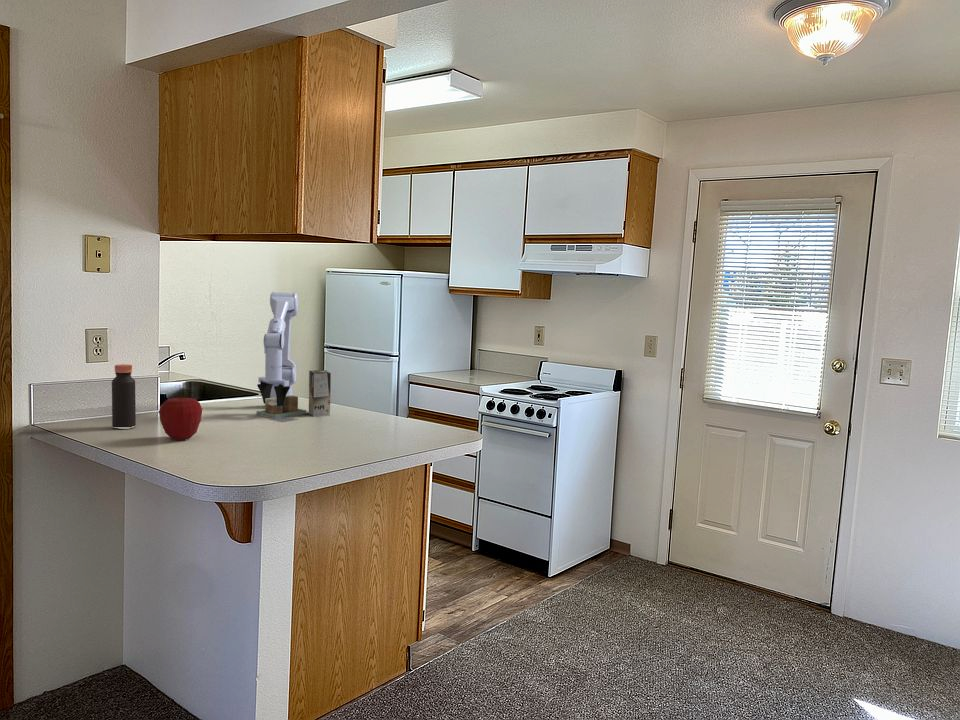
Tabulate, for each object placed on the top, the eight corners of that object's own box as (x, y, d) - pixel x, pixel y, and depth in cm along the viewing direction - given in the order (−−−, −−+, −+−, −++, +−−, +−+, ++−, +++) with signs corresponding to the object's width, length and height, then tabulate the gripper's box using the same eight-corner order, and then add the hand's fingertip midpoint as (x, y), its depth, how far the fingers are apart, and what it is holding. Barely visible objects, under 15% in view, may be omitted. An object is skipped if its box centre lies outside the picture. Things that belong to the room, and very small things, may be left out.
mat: (269, 420, 254) (269, 419, 254) (285, 418, 259) (285, 416, 259) (282, 423, 250) (282, 422, 250) (298, 420, 255) (298, 419, 255)
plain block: (281, 412, 267) (282, 396, 267) (290, 411, 271) (290, 395, 270) (289, 414, 265) (289, 397, 264) (297, 412, 268) (297, 396, 268)
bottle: (110, 429, 229) (109, 366, 227) (114, 425, 236) (113, 364, 234) (134, 429, 231) (133, 366, 229) (137, 425, 238) (136, 364, 236)
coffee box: (330, 416, 265) (331, 372, 263) (313, 417, 262) (313, 373, 261) (325, 412, 273) (325, 369, 272) (307, 413, 271) (308, 370, 269)
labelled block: (265, 415, 261) (265, 398, 261) (274, 413, 265) (274, 397, 264) (272, 416, 259) (272, 399, 258) (281, 415, 262) (281, 398, 262)
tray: (256, 415, 262) (256, 411, 262) (288, 411, 273) (288, 406, 273) (274, 419, 256) (274, 414, 256) (306, 414, 268) (306, 410, 267)
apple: (203, 434, 227) (203, 391, 226) (201, 442, 216) (201, 397, 215) (161, 435, 224) (160, 392, 222) (157, 443, 213) (156, 398, 211)
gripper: (251, 365, 261) (251, 403, 262) (277, 369, 253) (277, 408, 254) (267, 364, 267) (267, 401, 268) (293, 367, 258) (293, 405, 260)
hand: (273, 404), depth 261 cm, fingers open, 7 cm apart
